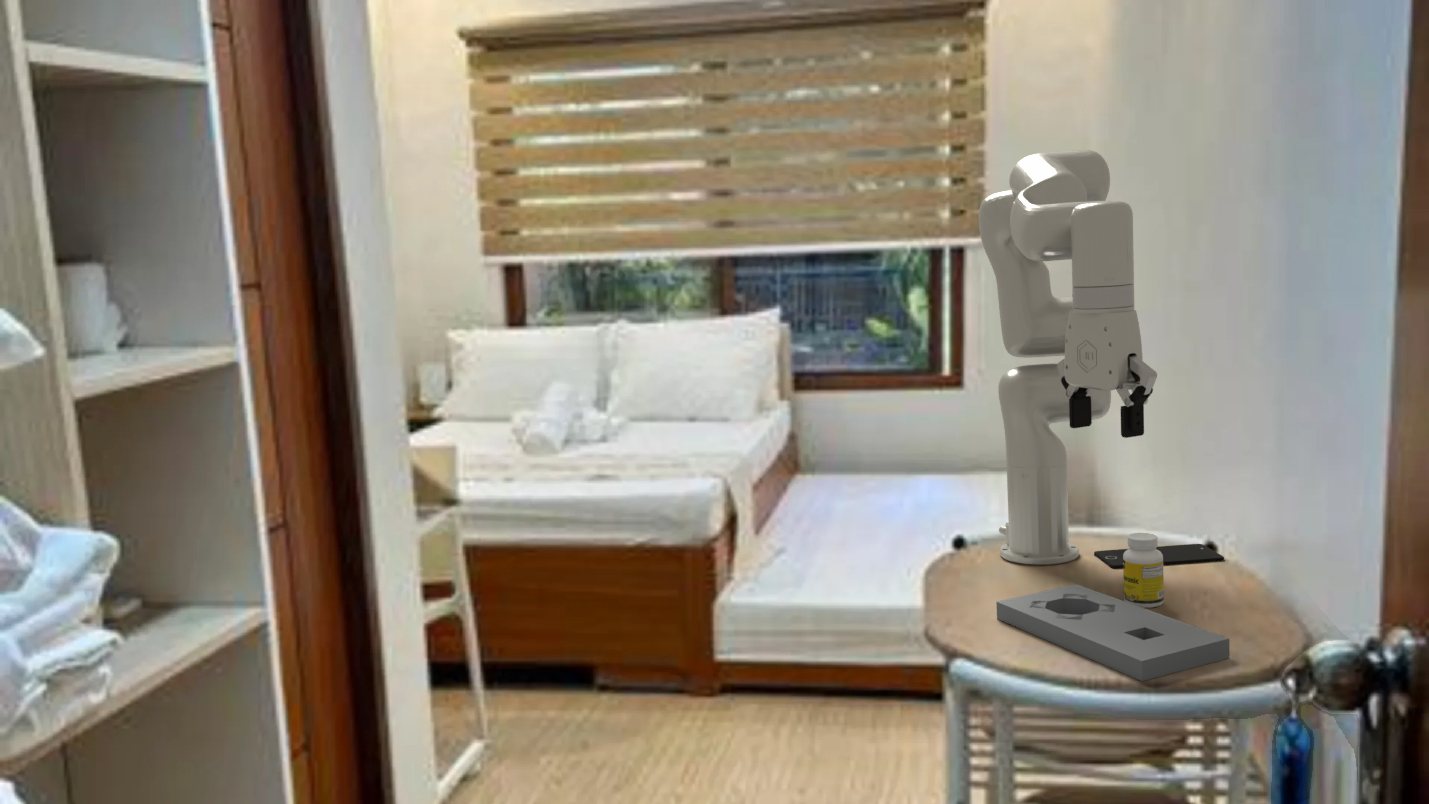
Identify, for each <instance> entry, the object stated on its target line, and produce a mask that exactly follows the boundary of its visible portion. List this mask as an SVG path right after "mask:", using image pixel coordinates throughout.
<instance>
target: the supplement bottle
mask: <svg viewBox="0 0 1429 804" xmlns="http://www.w3.org/2000/svg"><path fill="white" fill-rule="evenodd" d="M1127 547H1129V548H1127V549H1128V550H1126V551H1125V552H1124V554H1123V568H1122V571H1123V572H1122V573H1123V578H1122V579H1123V601H1125V602H1128V603H1131V604H1133V605H1136V606H1139V607H1142V608H1145V609H1150V608H1151V609H1152V608H1157V607H1160V606H1162V605H1163V604H1164V602H1165V586H1164V585H1165V583H1164V582H1165V581H1164V580H1165V579H1164V565H1163V555H1162V553H1161V552H1160V551H1159V550H1157V549H1156V547H1159V546H1158V536H1157V535H1156V534H1154V533H1150V532H1149V533H1148V532H1134V533H1131V534H1128V535H1127Z"/></svg>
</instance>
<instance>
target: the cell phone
mask: <svg viewBox="0 0 1429 804" xmlns="http://www.w3.org/2000/svg"><path fill="white" fill-rule="evenodd" d="M1128 549H1129V548H1121V549H1119V548H1118V549H1105V550H1095V551H1094V552H1093V553H1094V557H1095V558H1097V559H1098V560H1100V561H1101V562H1103V563H1104V564H1105V565H1106V566H1108V567H1109V568H1110V569H1114V570H1117V569H1119V570H1121V569H1123V554H1124V552H1125V551H1126V550H1128ZM1156 549H1157V550H1159V551H1160V552H1161V553H1162V555H1163V566H1172V565H1173V566H1174V565H1175V566H1176V565H1186V564H1189V565H1190V564H1199V563H1201V564H1202V563H1215V562H1224V561H1225V557H1224V556H1223V555H1221V554H1219V553H1218V552H1216V551H1215V550H1213V549H1212V548H1210V547H1208V546H1206V545H1204V544H1203V543H1191V544H1190V543H1188V544H1177V545H1176V544H1175V545H1162V546H1161V545H1160V546H1157V547H1156Z"/></svg>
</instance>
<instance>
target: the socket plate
mask: <svg viewBox="0 0 1429 804" xmlns="http://www.w3.org/2000/svg"><path fill="white" fill-rule="evenodd" d="M996 619H997V620H998V621H1002V622H1003V621H1004V622H1003V623H1006V624H1008V623H1009V625H1010V624H1011V625H1010V626H1012V627H1015V626H1016V627H1015V628H1016V629H1017V628H1018V629H1020V630H1022V631H1025V632H1027V633H1029V634H1032V635H1034V636H1036V637H1038V638H1040V639H1044V640H1046V641H1047V642H1050V643H1053V644H1054V645H1057V646H1059V647H1061V648H1064V649H1066V650H1069V651H1071V652H1073V653H1075V654H1078V655H1080V656H1083V657H1085V658H1087V659H1089V660H1092V661H1094V662H1097V663H1099V664H1101V665H1103V666H1105V667H1109V668H1110V669H1113V670H1115V671H1118V672H1120V673H1122V674H1124V675H1127V676H1129V677H1131V678H1133V679H1136V680H1139V681H1141V682H1145V681H1148V680H1151V679H1156V678H1159V677H1162V676H1166V675H1171V674H1173V673H1178V672H1181V671H1185V670H1190V669H1192V668H1197V667H1201V666H1204V665H1208V664H1211V663H1215V662H1219V661H1220V662H1221V661H1223V660H1227V659H1230V638H1229V637H1226V636H1223V635H1220V634H1218V633H1216V632H1215V633H1214V632H1212V631H1210V630H1207V629H1204V628H1201V627H1198V626H1195V625H1193V624H1189V623H1187V622H1184V621H1181V620H1178V619H1175V618H1172V617H1170V616H1167V615H1164V614H1162V613H1158V612H1156V611H1153V610H1150V609H1149V608H1142V607H1139V606H1136V605H1133V604H1131V603H1128V602H1125V601H1124V600H1121V599H1120V598H1116V597H1114V596H1111V595H1108V594H1105V593H1101V592H1099V591H1096V590H1094V589H1091V588H1088V587H1086V586H1082V585H1079V584H1070V585H1066V586H1062V587H1057V588H1052V589H1048V590H1044V591H1039V592H1034V593H1030V594H1024V595H1022V596H1017V597H1012V598H1007V599H1002V600H999V601H996Z"/></svg>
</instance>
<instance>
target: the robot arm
mask: <svg viewBox="0 0 1429 804" xmlns="http://www.w3.org/2000/svg"><path fill="white" fill-rule="evenodd" d="M1108 165H1109V164H1108V162H1106V160H1105V158H1104V157H1103V155H1101V154H1100V153H1099V152H1097V151H1093V150H1090V149H1081V150H1067V151H1065V150H1064V151H1052V152H1051V151H1049V152H1038V153H1034V154H1030V155H1026V156H1025V157H1023V158H1021V159H1020V160H1019V161H1017V163H1016V164H1015V165H1014V166H1013V168H1012V169H1011V172H1010V174H1009V180H1008V181H1009V189H1008V190H1004V191H999V192H995V193H992V194H990V195H989V196H987V197H986V198H984V199H983V200H982V202H981V204H980V206H979V210H978V229H979V235H980V239H981V243H982V246H983V249H984V251H985V253H986V254H985V255H986V256H987V258H988V260H989V263H990V265H991V268H992V270H993V274H994V276H995V280H996V289H997V298H998V299H997V300H998V309H999V310H998V311H999V319H1000V327H1001V328H1000V329H1001V335H1002V342H1003V345H1004V349H1005V350H1006V352H1007V353H1008V354H1009V355H1010V356H1012V357H1014V358H1015V357H1017V358H1029V359H1030V358H1045V357H1046V358H1048V357H1049V358H1050V357H1062V356H1064V358H1063V359H1061V360H1060V361H1059V362H1057V363H1054V362H1053V363H1040V364H1039V363H1038V364H1027V365H1020V366H1015V367H1013V368H1011V369H1009V370H1007V371H1006V372H1004V373H1003V374H1002V376H1001V378H1000V379H999V383H998V387H997V388H998V390H997V391H998V400H999V404H1000V410H1001V414H1002V415H1001V416H1002V420H1003V421H1002V422H1003V427H1004V438H1005V454H1006V455H1005V458H1006V483H1007V484H1006V487H1007V488H1006V489H1007V514H1008V515H1007V516H1008V517H1007V519H1008V521H1007V522H1006V523H1005V525H1001V526H999V528H998V532H999V534H1001V535H1004V536H1006V543H1004V544H1002V545H1001V546H1000V547H999V555H1000V556H1001V557H1002V558H1003V559H1004V560H1006V561H1009V562H1013V563H1017V564H1021V565H1022V564H1024V565H1035V566H1036V565H1038V566H1040V565H1043V566H1044V565H1057V564H1064V563H1068V562H1072V561H1073V560H1076V558H1078V557H1079V556H1080V555H1079V554H1080V548H1079V547H1078V546H1077V545H1076V544H1074V543H1072V542H1069V541H1070V539H1069V537H1070V535H1069V497H1068V495H1069V493H1068V491H1069V490H1068V465H1067V463H1068V460H1067V451H1066V447H1065V445H1064V443H1063V441H1062V440H1061V439H1060V438H1059V436H1058V435H1056V434H1055V432H1053V430H1052V429H1051V428H1050V425H1052V424H1057V423H1065V422H1067V423H1068V422H1069V427H1070V429H1071V428H1072V429H1078V428H1085V427H1086V428H1087V427H1090V426H1091V425H1092V423H1093V421H1094V420H1095V421H1096V420H1098V419H1101V418H1103V417H1105V416H1106V415H1107V414H1108V412H1109V411H1110V407H1111V403H1112V401H1111V400H1112V398H1111V397H1112V391H1114V390H1115V391H1116V392H1117V394H1118V395H1119V397H1120V399H1121V400H1122V403H1123V404H1124V405H1122V406H1121V405H1120V435H1121V437H1122V438H1134V437H1139V436H1140V437H1142V436H1144V434H1145V417H1144V416H1145V413H1144V412H1145V410H1144V409H1145V407H1144V405H1147V403H1148V402H1149V401H1148V400H1149V397H1150V396H1151V395H1152V393H1153V391H1154V386H1155V383H1156V381H1157V378H1158V374H1157V373H1158V372H1157V371H1156V370H1154V369H1153V368H1152V367H1150V365H1148V364H1147V363H1146V362H1144V360H1143V347H1142V345H1143V344H1142V335H1141V329H1140V322H1139V317H1138V313H1137V310H1136V309H1135V265H1134V264H1135V262H1134V261H1135V260H1134V259H1135V258H1134V257H1135V255H1134V253H1135V252H1134V215H1133V214H1134V213H1133V209H1132V207H1131V205H1130V204H1129V203H1127V202H1125V201H1119V200H1116V201H1113V200H1107V198H1108V194H1109V191H1110V186H1111V176H1110V175H1111V174H1110V169H1109V166H1108ZM1065 260H1071V277H1072V279H1071V281H1072V282H1071V283H1072V287H1071V288H1072V289H1071V290H1072V294H1071V295H1072V296H1067V297H1055V296H1054V295H1053V294H1052V289H1051V279H1050V276H1051V275H1050V271H1049V268H1048V267H1047V265H1046V263H1045V262H1050V261H1051V262H1053V261H1054V262H1055V261H1065ZM1129 390H1131V393H1130V391H1129Z"/></svg>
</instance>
